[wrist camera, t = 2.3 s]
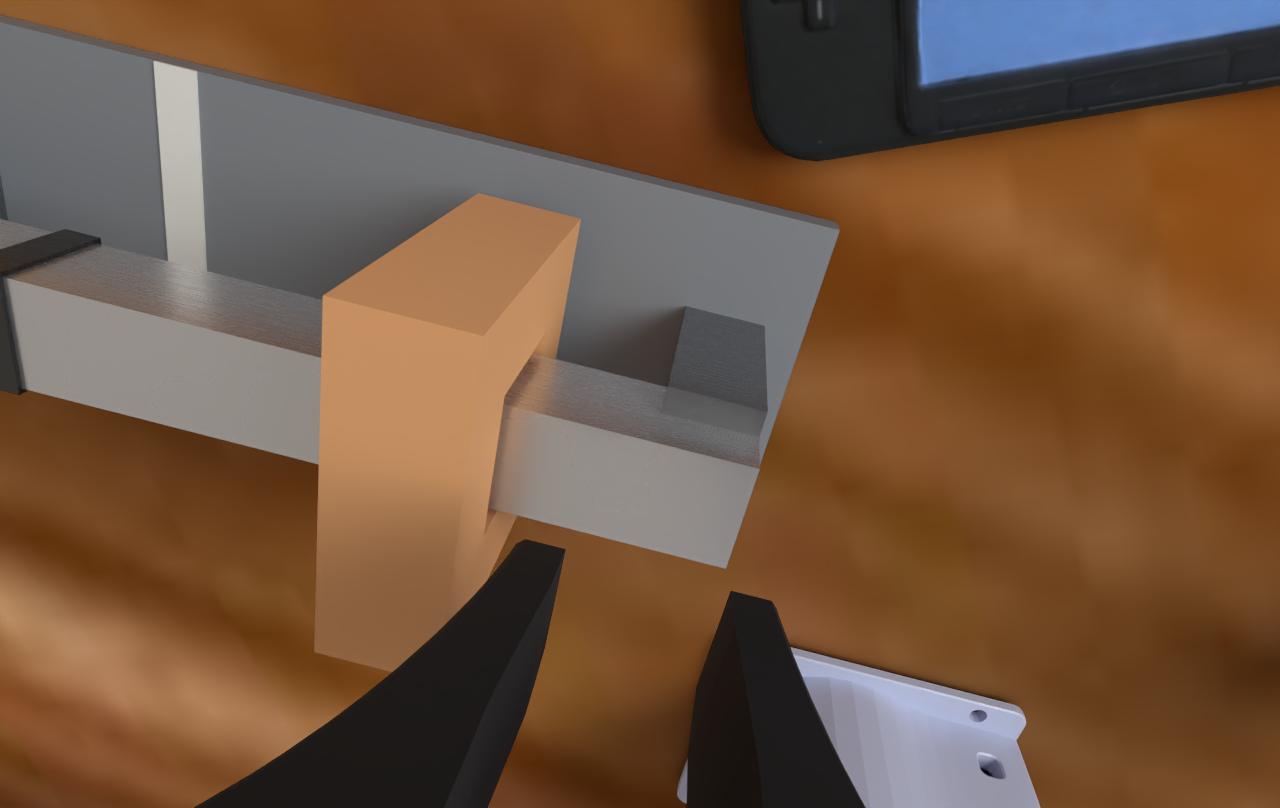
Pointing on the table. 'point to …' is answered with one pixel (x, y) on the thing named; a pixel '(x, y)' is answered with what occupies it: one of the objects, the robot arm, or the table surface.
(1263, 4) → the handheld game console
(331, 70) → the table surface
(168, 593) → the table surface
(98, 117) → the board
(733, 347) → the grey rail plate
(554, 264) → the collar
